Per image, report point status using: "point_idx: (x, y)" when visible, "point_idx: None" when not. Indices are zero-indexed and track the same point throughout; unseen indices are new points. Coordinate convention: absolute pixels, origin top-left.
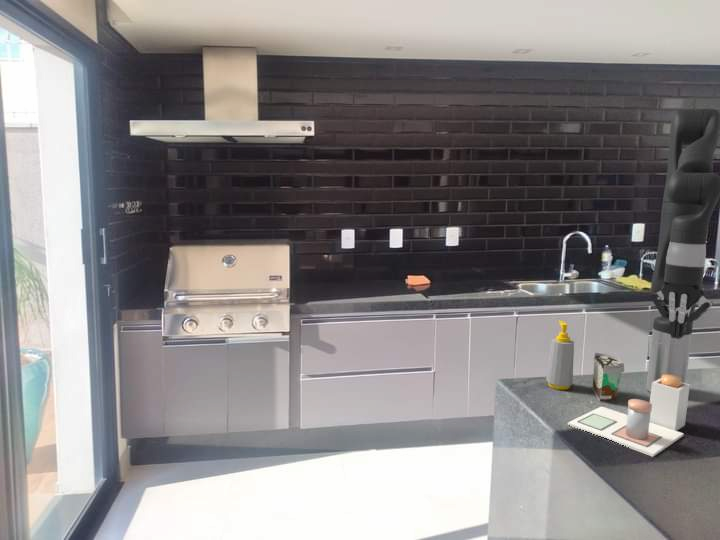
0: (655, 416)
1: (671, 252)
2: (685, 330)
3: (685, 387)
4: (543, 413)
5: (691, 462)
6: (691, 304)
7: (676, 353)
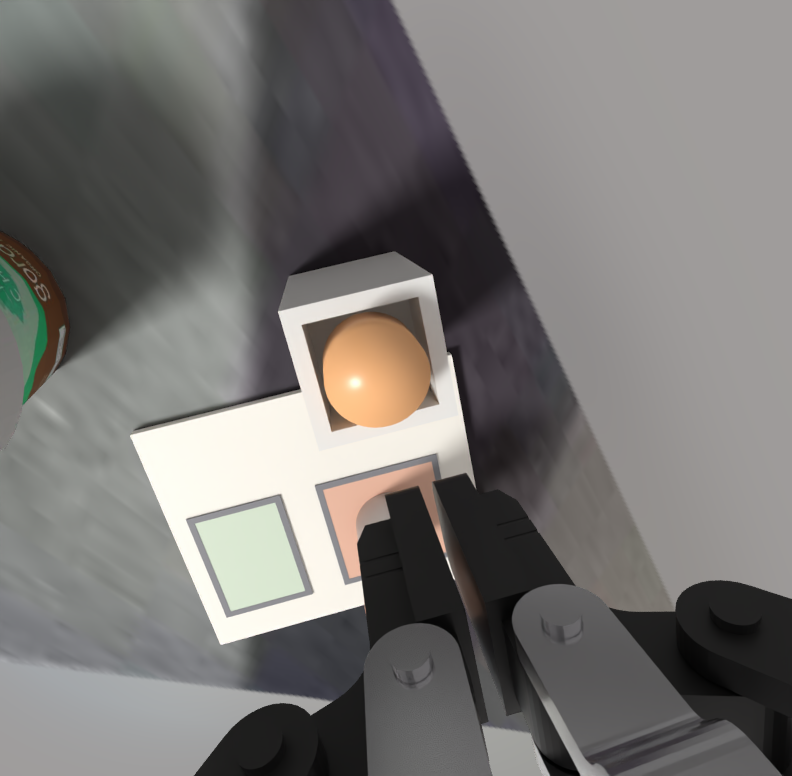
0: None
1: None
2: (537, 539)
3: (443, 337)
4: (107, 649)
5: (560, 494)
6: None
7: None
